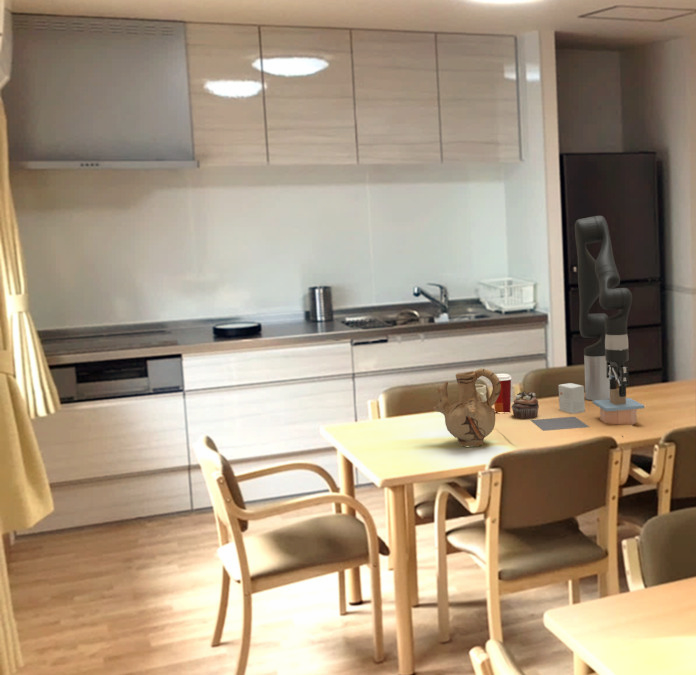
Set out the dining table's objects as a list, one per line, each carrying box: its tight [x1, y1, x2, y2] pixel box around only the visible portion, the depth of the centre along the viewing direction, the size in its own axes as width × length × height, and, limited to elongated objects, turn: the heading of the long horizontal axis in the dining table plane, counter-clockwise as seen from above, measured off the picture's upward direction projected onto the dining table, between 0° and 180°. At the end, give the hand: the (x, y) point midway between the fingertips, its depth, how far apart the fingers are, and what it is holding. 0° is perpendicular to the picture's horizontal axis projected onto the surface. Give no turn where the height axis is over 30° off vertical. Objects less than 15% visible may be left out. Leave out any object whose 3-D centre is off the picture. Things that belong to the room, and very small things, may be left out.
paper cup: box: [491, 373, 513, 413], centre depth 320 cm, size 8×8×14 cm
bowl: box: [599, 407, 638, 426], centre depth 293 cm, size 11×11×6 cm
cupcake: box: [511, 391, 540, 420], centre depth 307 cm, size 10×10×10 cm
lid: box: [592, 388, 645, 411], centre depth 292 cm, size 13×13×6 cm
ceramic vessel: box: [432, 368, 501, 448], centre depth 276 cm, size 18×19×25 cm
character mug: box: [475, 383, 488, 402], centre depth 308 cm, size 11×7×13 cm, turn 18°
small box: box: [558, 382, 586, 415], centre depth 311 cm, size 8×6×10 cm
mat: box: [529, 416, 590, 432], centre depth 294 cm, size 16×16×1 cm
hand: (617, 394), depth 292 cm, fingers open, 8 cm apart
